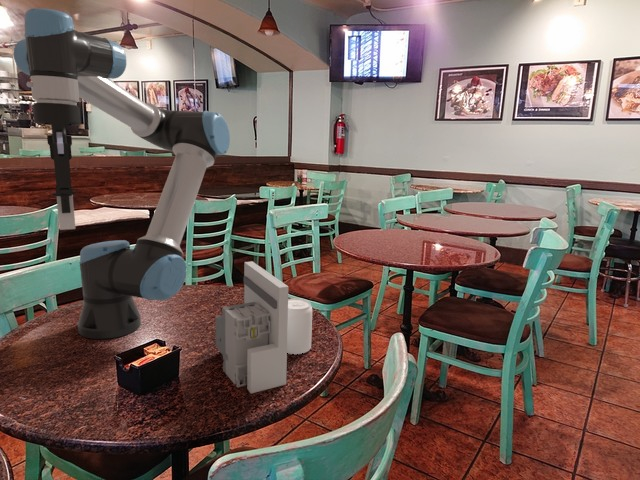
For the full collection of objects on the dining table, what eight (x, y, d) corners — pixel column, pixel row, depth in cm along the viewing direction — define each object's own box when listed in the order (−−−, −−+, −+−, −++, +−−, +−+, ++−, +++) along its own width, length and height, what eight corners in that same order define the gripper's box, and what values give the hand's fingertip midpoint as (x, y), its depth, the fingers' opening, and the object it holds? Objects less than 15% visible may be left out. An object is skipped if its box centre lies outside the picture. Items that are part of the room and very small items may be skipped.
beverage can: (274, 343, 115) (275, 299, 112) (304, 339, 118) (306, 296, 115) (283, 358, 107) (284, 311, 105) (315, 354, 110) (317, 307, 107)
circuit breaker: (243, 351, 110) (243, 293, 107) (269, 378, 98) (270, 314, 95) (213, 358, 106) (212, 298, 103) (237, 387, 94) (237, 320, 91)
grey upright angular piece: (220, 352, 109) (219, 264, 104) (251, 345, 113) (252, 261, 108) (250, 393, 92) (251, 291, 87) (286, 384, 96) (288, 286, 91)
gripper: (33, 102, 86) (45, 223, 92) (30, 99, 75) (44, 237, 81) (78, 105, 90) (87, 221, 95) (81, 102, 79) (91, 234, 84)
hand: (67, 228), depth 88 cm, fingers closed
